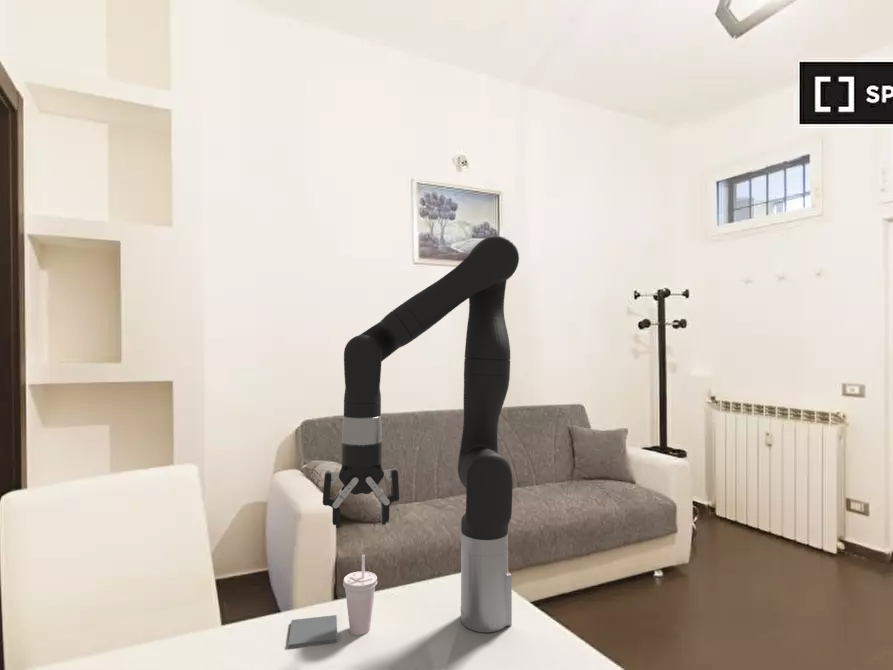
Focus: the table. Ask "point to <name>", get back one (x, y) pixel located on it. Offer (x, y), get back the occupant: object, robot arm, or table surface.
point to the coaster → (313, 631)
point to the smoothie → (360, 599)
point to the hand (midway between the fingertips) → (360, 525)
